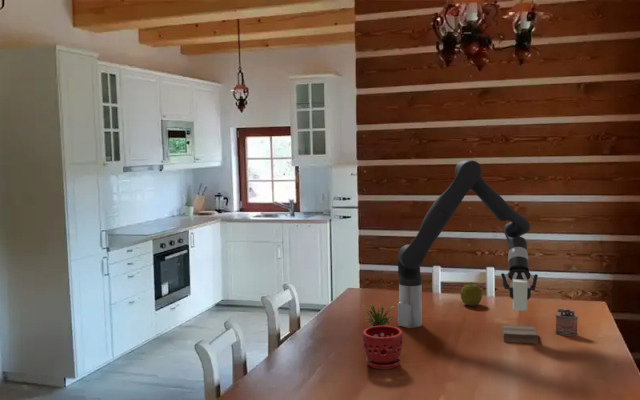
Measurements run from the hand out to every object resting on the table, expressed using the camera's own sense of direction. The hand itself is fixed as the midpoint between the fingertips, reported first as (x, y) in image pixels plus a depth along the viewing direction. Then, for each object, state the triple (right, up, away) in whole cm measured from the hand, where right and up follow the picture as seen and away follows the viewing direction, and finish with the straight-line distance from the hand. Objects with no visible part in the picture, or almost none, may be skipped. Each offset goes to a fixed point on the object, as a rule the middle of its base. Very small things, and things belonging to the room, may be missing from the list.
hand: (520, 298), depth 231 cm
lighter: (+20, -15, +7) cm, 26 cm away
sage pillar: (+1, -4, +2) cm, 5 cm away
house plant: (-55, -17, -3) cm, 58 cm away
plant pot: (-55, -19, -24) cm, 63 cm away
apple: (-5, -12, +53) cm, 55 cm away
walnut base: (+1, -16, +3) cm, 16 cm away
